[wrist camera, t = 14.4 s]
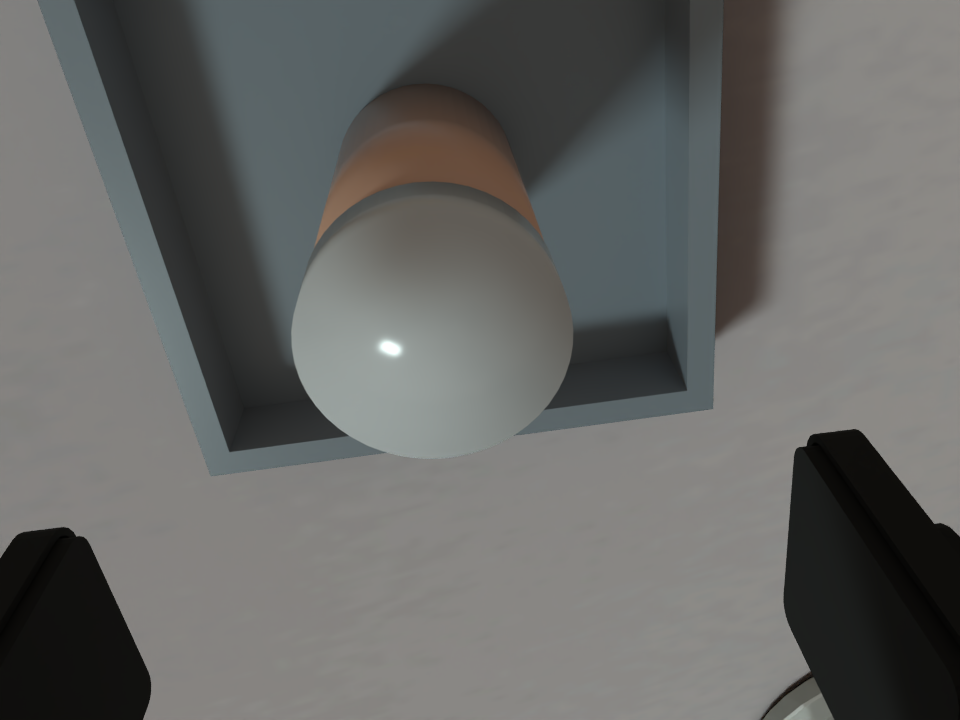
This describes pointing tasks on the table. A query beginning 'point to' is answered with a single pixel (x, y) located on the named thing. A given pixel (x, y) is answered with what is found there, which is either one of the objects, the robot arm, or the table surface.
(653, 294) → the slate tray
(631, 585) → the table surface
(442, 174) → the shaker
